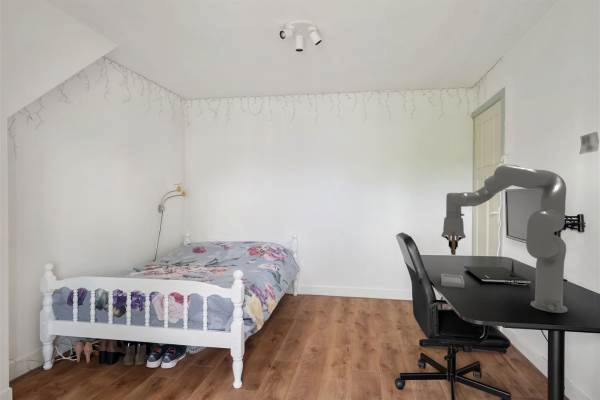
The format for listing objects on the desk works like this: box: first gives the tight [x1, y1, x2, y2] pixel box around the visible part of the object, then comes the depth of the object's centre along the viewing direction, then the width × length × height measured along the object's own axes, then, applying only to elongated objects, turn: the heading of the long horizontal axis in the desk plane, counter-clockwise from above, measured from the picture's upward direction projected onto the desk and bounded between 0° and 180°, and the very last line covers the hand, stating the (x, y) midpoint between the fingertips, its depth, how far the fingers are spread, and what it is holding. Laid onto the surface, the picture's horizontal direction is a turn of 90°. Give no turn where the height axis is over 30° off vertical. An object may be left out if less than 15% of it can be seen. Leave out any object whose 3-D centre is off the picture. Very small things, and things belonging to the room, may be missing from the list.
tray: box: [440, 273, 465, 289], centre depth 181 cm, size 18×11×2 cm, turn 157°
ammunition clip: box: [450, 232, 457, 256], centre depth 180 cm, size 11×2×12 cm, turn 157°
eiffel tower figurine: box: [505, 260, 528, 286], centre depth 183 cm, size 15×10×13 cm
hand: (453, 248), depth 180 cm, fingers closed on ammunition clip, 2 cm apart
